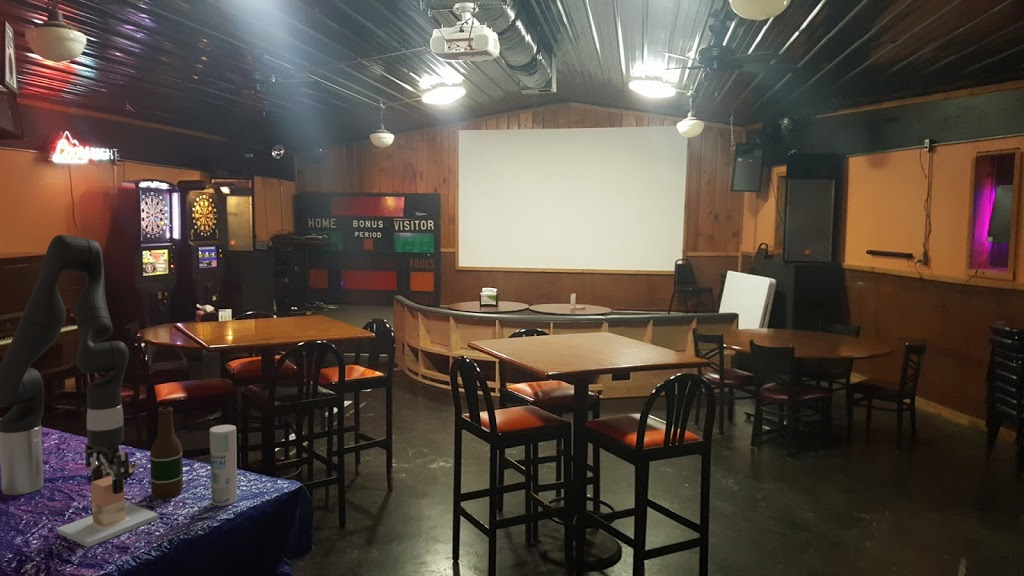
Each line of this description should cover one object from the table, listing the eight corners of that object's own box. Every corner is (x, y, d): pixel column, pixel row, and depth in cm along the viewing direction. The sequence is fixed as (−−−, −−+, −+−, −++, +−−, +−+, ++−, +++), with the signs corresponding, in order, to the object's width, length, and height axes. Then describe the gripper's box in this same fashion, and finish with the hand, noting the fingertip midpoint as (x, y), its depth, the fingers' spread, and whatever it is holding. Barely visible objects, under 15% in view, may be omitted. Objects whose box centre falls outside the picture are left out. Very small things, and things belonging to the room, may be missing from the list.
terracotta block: (91, 502, 159) (90, 482, 159) (112, 494, 164) (111, 475, 163) (104, 506, 157) (103, 486, 157) (124, 499, 161) (124, 479, 161)
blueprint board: (57, 532, 157) (57, 527, 157) (128, 506, 171) (128, 502, 171) (87, 547, 150) (87, 541, 150) (158, 518, 165) (158, 513, 165)
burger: (103, 486, 184) (102, 460, 184) (82, 477, 190) (81, 452, 190) (146, 473, 194) (145, 448, 194) (124, 464, 201) (123, 441, 200)
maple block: (92, 522, 160) (92, 502, 159) (113, 514, 164) (112, 495, 164) (104, 527, 157) (103, 507, 157) (125, 519, 162) (124, 499, 161)
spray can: (242, 497, 179) (241, 425, 177) (227, 507, 173) (226, 433, 171) (221, 494, 180) (219, 423, 178) (205, 504, 174) (204, 430, 172)
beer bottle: (170, 500, 176) (167, 413, 173) (144, 497, 177) (141, 410, 175) (189, 489, 183) (187, 405, 181) (165, 486, 185) (162, 402, 182)
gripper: (138, 425, 158) (140, 490, 160) (104, 415, 165) (106, 478, 167) (106, 433, 152) (108, 501, 153) (72, 423, 158) (75, 488, 160)
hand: (107, 489), depth 160 cm, fingers open, 8 cm apart
